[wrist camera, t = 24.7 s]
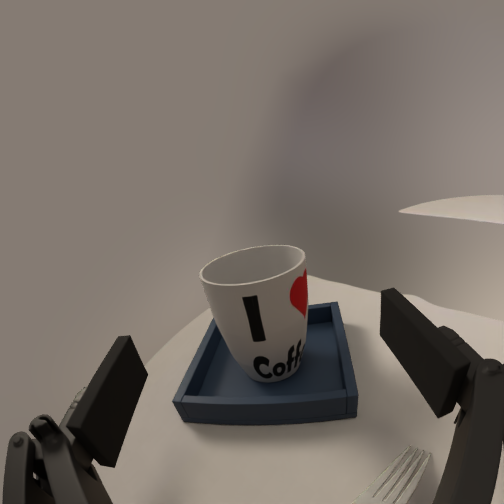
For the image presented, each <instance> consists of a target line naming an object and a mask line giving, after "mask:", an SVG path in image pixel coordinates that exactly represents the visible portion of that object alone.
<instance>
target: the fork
mask: <svg viewBox="0 0 504 504" xmlns="http://www.w3.org/2000/svg"><path fill="white" fill-rule="evenodd" d="M410 447H411V446H409V447H408V448H407V449H406V450H405V451H404V452H403V453H402V454H401V455H399V456H398V457H397V458H396V459H395V460H394V461H393V462H392V463H391V465H390V466H389V467H388V468H387V469H386V470H385V471H384V472H383V473H382V474H381V475H380V476H379V477H378V478H377V479H376V480H375V481H374V482H373V483H372V484H371V485H370V486H369V487H368V488H367V489H366V490H365V491H364V492H362V493H361V494H360V495H359V496H358V497H357V498H356V499H355V500H354V501H353V503H352V504H393V503H394V501H395V500H396V498H397V497H398V495H399V494H400V492H401V491H402V489H403V488H404V486H405V485H406V483H407V481H408V480H409V478H410V477H411V475H412V473H413V472H414V470H415V468H416V466H417V464H418V463H419V461H420V459H421V457H422V455H423V453H424V450H423V451H422V452H421V453H420V455H419V456H418V457H417V459H416V460H415V461H414V463H413V464H412V465H411V467H410V468H409V470H408V471H407V472H406V474H405V475H404V476H403V478H402V479H401V480H400V482H399V483H398V484H397V486H396V487H395V488H394V489H393V491H392V492H391V493H390V494H389V496H388V497H387V498H386V499H385V500H384V501H383V499H384V498H385V497H386V495H387V494H388V493H389V491H390V490H391V489H392V487H393V486H394V485H395V483H396V482H397V480H398V479H399V478H400V476H401V475H402V473H403V472H404V471H405V469H406V468H407V466H408V465H409V463H410V461H411V460H412V458H413V456H414V455H415V453H416V451H417V450H418V448H416V449H415V450H414V452H413V453H412V454H411V455H410V456H409V458H408V459H407V460H406V461H405V462H404V463H403V465H402V466H401V467H400V468H399V469H398V471H397V472H396V473H395V474H394V475H393V476H392V478H391V479H390V480H389V481H388V482H387V483H386V484H385V486H384V487H383V488H382V489H381V490H380V491H379V492H378V493H377V494H376V496H375V497H374V495H375V493H376V492H377V491H378V490H379V489H380V487H381V486H382V485H383V484H384V482H385V481H386V480H387V479H388V477H389V476H390V475H391V473H392V472H393V471H394V469H395V468H396V467H397V465H398V464H399V463H400V461H401V460H402V459H403V457H404V456H405V454H406V453H407V451H408V450H409V448H410ZM430 455H431V453H429V455H428V456H427V458H426V459H425V461H424V463H423V464H422V466H421V467H420V469H419V470H418V472H417V473H416V475H415V476H414V478H413V479H412V480H411V482H410V483H409V485H408V486H407V487H406V489H405V490H404V492H403V493H402V494H401V496H400V497H399V498H398V500H397V501H396V502H395V504H407V502H408V501H409V499H410V497H411V496H412V494H413V492H414V490H415V488H416V487H417V485H418V483H419V481H420V479H421V477H422V475H423V473H424V470H425V468H426V466H427V463H428V461H429V458H430Z"/></svg>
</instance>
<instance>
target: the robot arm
mask: <svg viewBox="0 0 504 504" xmlns="http://www.w3.org/2000/svg"><path fill="white" fill-rule="evenodd" d="M380 336H381V337H382V339H383V340H384V341H385V343H386V344H387V346H388V347H389V348H390V350H391V351H392V352H393V354H394V355H395V357H396V358H397V359H398V361H399V362H400V364H401V365H402V366H403V368H404V369H405V371H406V372H407V373H408V375H409V376H410V378H411V379H412V381H413V382H414V384H415V385H416V386H417V388H418V389H419V391H420V392H421V394H422V395H423V397H424V398H425V400H426V401H427V403H428V404H429V406H430V407H431V409H432V410H433V412H434V413H435V415H436V416H437V418H440V417H443V416H445V415H446V414H448V413H450V412H452V411H453V409H454V407H455V405H456V402H457V403H458V404H459V405H460V407H461V408H460V410H459V413H458V415H457V417H456V419H455V421H454V423H455V424H456V422H457V424H456V428H455V433H454V437H453V441H452V445H451V449H450V453H449V456H448V460H447V463H446V467H445V470H444V473H443V476H442V479H441V482H440V485H439V488H438V490H437V493H436V496H435V498H434V501H433V503H432V504H491V501H492V497H493V493H494V489H495V484H496V480H497V475H498V469H499V464H500V457H501V450H502V442H503V445H504V364H501V363H500V362H499V361H497V360H495V359H483V358H482V357H481V356H480V355H479V354H478V353H477V352H476V351H475V350H474V349H473V348H472V347H470V346H469V345H468V344H467V343H466V342H465V341H464V340H463V339H462V338H461V337H459V335H458V334H457V333H456V332H455V331H454V330H452V329H450V328H448V327H445V326H441V327H439V328H437V327H436V326H435V325H434V324H433V323H432V322H431V321H430V320H429V319H427V318H426V317H425V316H424V315H423V314H422V313H421V312H420V311H419V310H418V309H417V308H416V307H415V306H414V305H413V304H411V303H410V302H409V301H408V300H407V299H406V298H405V297H404V296H403V295H402V294H400V293H399V292H398V291H397V290H396V289H395V288H391V289H387V290H383V291H381V319H380ZM147 376H148V373H147V371H146V369H145V367H144V365H143V363H142V361H141V359H140V356H139V354H138V352H137V350H136V348H135V345H134V343H133V341H132V339H131V336H130V335H129V336H119V337H118V338H117V339H116V341H115V342H114V344H113V346H112V347H111V349H110V351H109V352H108V354H107V355H106V357H105V358H104V360H103V362H102V363H101V365H100V367H99V368H98V370H97V371H96V373H95V375H94V376H93V378H92V380H91V382H90V383H89V385H88V387H84V388H83V389H82V390H81V391H80V392H79V393H78V394H77V395H76V397H75V399H74V400H73V402H72V404H71V406H70V408H69V409H68V411H67V412H66V414H65V416H64V418H63V419H62V421H61V423H60V425H59V427H58V425H57V424H56V423H55V422H54V420H53V419H52V418H51V417H50V416H49V415H40V416H38V417H36V418H34V420H33V421H32V422H31V423H30V425H29V431H30V432H31V433H32V434H33V435H34V437H35V438H36V439H31V438H30V437H29V436H28V435H27V433H25V432H17V433H15V434H14V435H13V436H12V437H11V439H10V441H9V445H8V451H7V457H6V465H5V474H4V485H3V504H113V503H112V501H111V499H110V497H109V495H108V493H107V491H106V490H105V488H104V486H103V484H102V481H101V479H100V477H99V475H98V473H97V471H96V469H95V467H94V466H93V465H92V464H91V463H92V461H93V458H94V459H95V460H96V461H97V462H98V463H99V464H100V465H101V466H107V467H113V468H115V465H116V462H117V459H118V456H119V453H120V450H121V447H122V444H123V442H124V439H125V436H126V433H127V430H128V427H129V425H130V422H131V419H132V416H133V413H134V411H135V408H136V405H137V403H138V400H139V397H140V395H141V392H142V389H143V387H144V384H145V382H146V379H147ZM33 472H34V473H35V474H36V479H35V478H34V477H33Z"/></svg>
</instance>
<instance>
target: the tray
mask: <svg viewBox="0 0 504 504" xmlns="http://www.w3.org/2000/svg"><path fill="white" fill-rule="evenodd" d="M172 402H173V404H174V406H175V408H176V409H177V411H178V413H179V415H180V416H181V419H182V420H183V421H185V422H196V423H210V424H231V425H274V424H295V423H309V422H320V421H329V420H337V419H345V418H352V417H356V416H357V406H358V390H357V385H356V380H355V375H354V370H353V366H352V361H351V356H350V352H349V347H348V343H347V338H346V334H345V330H344V326H343V322H342V318H341V313H340V309H339V306H338V302H331V303H323V304H315V305H308V318H307V332H306V342H305V346H304V350H303V354H302V357H301V361H300V365H299V367H298V369H297V370H296V372H295V373H293V374H292V375H291V376H289V377H288V378H286V379H283V380H281V381H277V382H270V383H265V382H259V381H255V380H253V379H252V378H250V377H249V376H248V375H247V374H246V372H245V371H244V370H243V369H242V367H241V366H240V365H239V363H238V362H237V361H236V360H235V358H234V357H233V355H232V354H231V352H230V350H229V348H228V346H227V344H226V342H225V340H224V338H223V336H222V334H221V332H220V330H219V328H218V326H217V325H216V322H215V319H214V318H213V320H212V322H211V324H210V326H209V328H208V330H207V332H206V334H205V336H204V338H203V340H202V342H201V344H200V346H199V348H198V350H197V352H196V354H195V356H194V358H193V360H192V362H191V364H190V366H189V368H188V370H187V372H186V374H185V376H184V378H183V380H182V382H181V384H180V386H179V388H178V390H177V392H176V394H175V397H174V399H173V401H172Z"/></svg>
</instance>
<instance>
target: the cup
mask: <svg viewBox="0 0 504 504" xmlns="http://www.w3.org/2000/svg"><path fill="white" fill-rule="evenodd" d="M199 276H200V279H201V282H202V285H203V288H204V291H205V294H206V297H207V300H208V302H209V305H210V308H211V311H212V314H213V317H214V319H215V322H216V325H217V326H218V328H219V330H220V332H221V334H222V336H223V338H224V340H225V342H226V344H227V346H228V348H229V350H230V352H231V354H232V355H233V357H234V358H235V360H236V361H237V362H238V363H239V365H240V366H241V367H242V369H243V370H244V371H245V372H246V374H247V375H248V376H249V377H250V378H252V379H253V380H255V381H259V382H265V383H270V382H277V381H281V380H283V379H286V378H288V377H289V376H291V375H292V374H293V373H295V372H296V370H297V369H298V367H299V365H300V361H301V357H302V354H303V350H304V346H305V342H306V332H307V318H308V288H307V273H306V259H305V253H304V251H303V250H301V249H299V248H297V247H293V246H287V245H266V246H259V247H252V248H247V249H242V250H238V251H235V252H232V253H229V254H226V255H223V256H221V257H219V258H217V259H215V260H213V261H211V262H209V263H208V264H206V265H205V266H204V267H203V268H202V270H201V271H200V273H199Z"/></svg>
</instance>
